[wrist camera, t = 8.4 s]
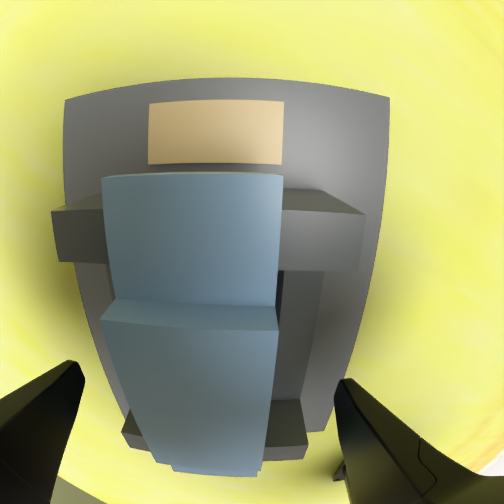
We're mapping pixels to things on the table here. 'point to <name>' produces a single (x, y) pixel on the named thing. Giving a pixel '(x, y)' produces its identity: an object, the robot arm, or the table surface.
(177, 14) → the table surface
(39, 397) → the robot arm
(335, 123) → the chassis plate
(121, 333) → the block
